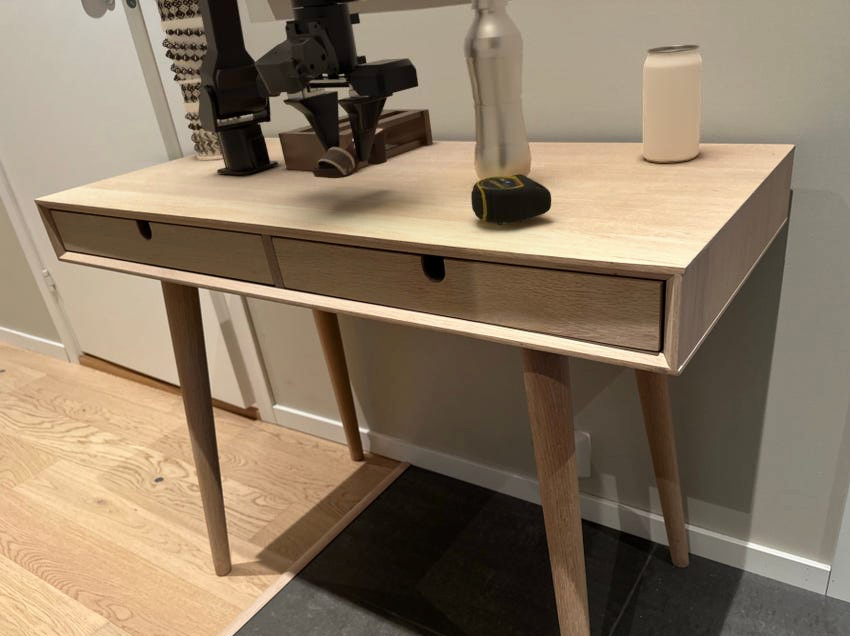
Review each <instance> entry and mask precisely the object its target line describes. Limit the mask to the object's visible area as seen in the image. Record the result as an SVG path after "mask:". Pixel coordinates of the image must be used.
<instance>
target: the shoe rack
mask: <svg viewBox="0 0 850 636" xmlns="http://www.w3.org/2000/svg"><path fill="white" fill-rule="evenodd" d="M377 127H385V128H386V145H394V146H391V147H388V148H386V157H387V159H389V158H391V157H395V156H397V155H401V154H402V153H405V152H408V151H412V150H413V149H416V148H419V147H421V146H430V145H432V144H434V140H433V134H432V126H431V119H430V111H429V109H427V108H420V109H419V108H417V109H416V108H415V109H414V108H413V109H412V108H405V109H404V108H403V109H401V108H399V109H396V108H395V109H394V108H391V109H389V108H388V109H385V108H383V111H382V113H381V116H380V119H379V122H378V125H377ZM278 138H279V143H280V148H281V151H282V156H283V161H284V165H285V169H286V170H293V171H295V170H296V171H310V172H312V169H313V168H317V167H318V161H319V160H320V159H321V158H322V157H323V156H324V155H325V154H326V152H325V150H324V148H323V146H322V144H321V143H320V141H319V139H318V137H317V135H316V134H315V132H314V130H313V128H312V126H311V125H310V124H309V125H306V126H302V127H299V128H295V129H291V130H287V131H282V132H278ZM339 140H340V147H339V148H342V149H344V150H346V148H347V147H348V146H349V145H350V144H351V143H352V142H353V141H354V140H353V135H352V130H351V125H350V121H349V116H348V114H345V115H342V116H339ZM367 166H371V164H368V162H367V161H365V162H359V165H358V167H357V170H356V172H355V173H357V172H359V169H361V168H364V167H367Z"/></svg>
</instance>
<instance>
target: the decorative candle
mask: <svg viewBox="0 0 850 636" xmlns="http://www.w3.org/2000/svg"><path fill="white" fill-rule="evenodd" d="M154 1H155V3H156V5H157V10H158V14H159V17H160V20H161V21H160V22H159V23H160V26H161V29H162V32H163V33H165V37H164V39H163V40H162V43H161V45H162V46H163V47H164V48H166V49H167V50H166V52H165V54H164V56H165V57H166V58H168V59H170V60H171V61H173V62H172V64H171V65H170V71H171V72H173V73H174V74H175V75H174V77H173V81H174V82H175V84H176V85H179V87H180V90H181V94H182V97H183V101H184V102H183V106H184V109H185V110H184V111H185V112H186V114H185V115H184V118H185V119H186V120H188V121H190V123H189V124H188V125H187V128H188V129H189V130H192V134H191V136H190V140H191V141H192V142H193V143H195V144H194V146H193V150H194V151H195V152H197V153H198V154H197V155H196V159H197V160H200V161H213V160H220V159H221V160H223V156H222V153H221V149H220V145H219V141H218V138H217V134H216V133H213V132H208V131H204V130H203V127H202V125H201V122H200V120H199V117H198V112H199V97H200V88H201V86H202V85H201V78H200V67H201V64H202V62H203V59H204V57H205V54H206V51H207V42H206V37H205V32H204V26H203V21H202V16H201V11H200V6H199V1H198V0H154ZM239 118H242V116H240V117H235V118H230V119H224V120H219V119H218V120H217V122H218V123H219V122H224V121H229V120H234V119H239Z"/></svg>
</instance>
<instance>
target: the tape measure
mask: <svg viewBox="0 0 850 636" xmlns="http://www.w3.org/2000/svg"><path fill="white" fill-rule="evenodd" d="M470 193H471V194H470V199H471V208H472V211H473V213H474V216H475V217H477V218H478V219H479V220H480V221H483V222H487V223H493V224H496V225H498V226H502V225H505V224H512V223H513V224H514V223H520V222H521V223H522V222H523V221H527V220H529V219H533V218H535V217H538V216H539V217H540V216H542V215H544V214H546V213H548V212H549V211H550V210H551V208H552V194H551V191H550V190H549V189H548V188H547V187H546V186H544V185H543V184H541V183H540V182H538V181H535V180H534V179H531V178H530V177H528V176H527V177H526V176H524V175H522V174H517V175H513V176H498V177H490V178H486V179H483V180H480V179H479V180H478V181H477V182H475V183H474V185H473V187H472V191H471V192H470Z"/></svg>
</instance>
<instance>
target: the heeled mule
mask: <svg viewBox="0 0 850 636" xmlns="http://www.w3.org/2000/svg"><path fill="white" fill-rule="evenodd" d="M386 149H387V144H386V128H385V127H377V129H376V133H375V136H374V140H373V144H372V148H371V151H370V155H369V159H368V160H367V162H368V164H370V165H373V166H377V165H383V164H385V163H387V162H388V160H387V159H388V158H387V157H386ZM359 162H360V161H359V159H358V155H357V152H356V149H355V144H354V140H353V142H352V143H351V144H350V145H349V146H348V147H347V148H346V150H344V149H342V148H339V147H332V148H330V149H329V150H328V151H327V153H326V154H325V155H324V156H323V157H322V158H321V159H320V160H319V161H318V167H317V168H313V169H312V171H311V172H312V174H313V177H315V178H323V179H324V178H325V179H344V178H348V177H351V176H352V175H354V174H356V173H357V172H356V170H357V167H358V165H359Z"/></svg>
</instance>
